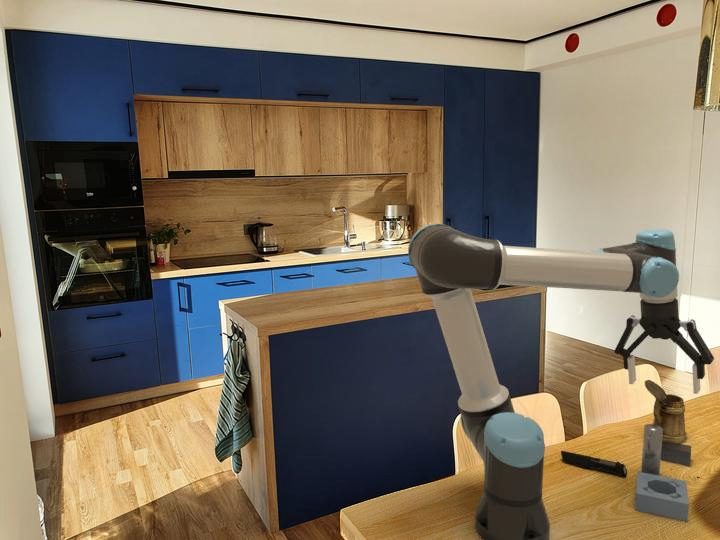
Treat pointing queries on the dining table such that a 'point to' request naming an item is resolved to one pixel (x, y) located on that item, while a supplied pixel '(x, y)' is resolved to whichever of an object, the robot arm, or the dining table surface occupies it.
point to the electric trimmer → (595, 463)
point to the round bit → (652, 449)
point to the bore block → (662, 496)
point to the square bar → (676, 453)
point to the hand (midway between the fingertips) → (663, 386)
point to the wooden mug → (668, 413)
